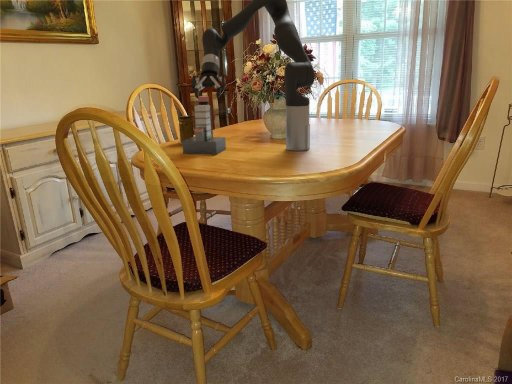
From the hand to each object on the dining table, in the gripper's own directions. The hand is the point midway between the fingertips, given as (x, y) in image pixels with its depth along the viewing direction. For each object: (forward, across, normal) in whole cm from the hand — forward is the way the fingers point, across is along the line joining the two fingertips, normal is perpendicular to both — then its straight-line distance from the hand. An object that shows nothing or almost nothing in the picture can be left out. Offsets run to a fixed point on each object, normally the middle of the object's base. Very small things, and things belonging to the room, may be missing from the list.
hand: (207, 96), depth 170 cm
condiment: (+8, +12, -22) cm, 26 cm away
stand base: (+22, 0, -7) cm, 23 cm away
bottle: (+4, +6, -26) cm, 27 cm away
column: (+19, 0, -3) cm, 19 cm away
